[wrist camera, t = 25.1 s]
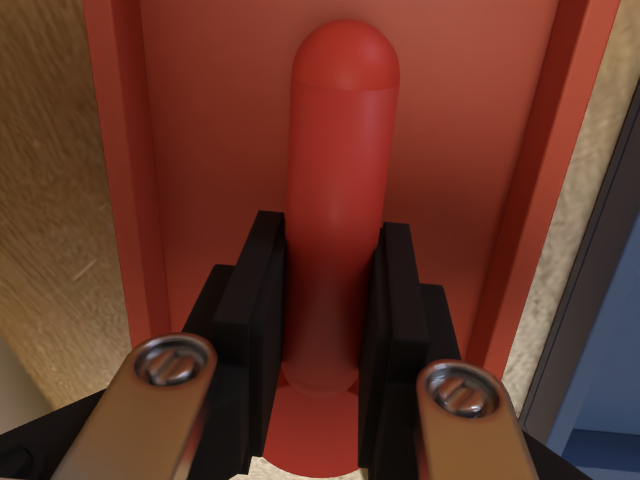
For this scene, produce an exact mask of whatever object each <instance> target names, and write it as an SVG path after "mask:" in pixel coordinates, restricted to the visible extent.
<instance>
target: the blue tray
mask: <svg viewBox="0 0 640 480" xmlns="http://www.w3.org/2000/svg"><path fill="white" fill-rule="evenodd" d="M519 424H520V427H521V429H522V430H523V431H525V432H526V433H528V434H529V435H531V436H532V437H533V438H535V439H536V440H538V441H539V442H540V443H542V444H543V445H545V446H546V447H548V448H549V449H550V450H552V451H553V452H555V453H556V454H558V455H559V456H560V457H562V458H563V459H565V460H566V461H567V462H569V463H570V464H572V465H573V466H575V467H576V468H577V469H579V470H580V471H582V472H583V473H584V474H586V475H587V476H589V477H590V478H592V479H593V480H640V82H639V85H638V88H637V90H636V93H635V96H634V99H633V102H632V104H631V107H630V110H629V113H628V116H627V118H626V121H625V124H624V127H623V130H622V132H621V135H620V138H619V141H618V144H617V147H616V149H615V152H614V155H613V158H612V161H611V163H610V166H609V169H608V172H607V175H606V177H605V180H604V183H603V186H602V189H601V191H600V194H599V197H598V200H597V203H596V206H595V208H594V211H593V214H592V217H591V220H590V222H589V225H588V228H587V231H586V234H585V236H584V239H583V242H582V245H581V248H580V250H579V253H578V256H577V259H576V262H575V265H574V267H573V270H572V273H571V276H570V279H569V281H568V284H567V287H566V290H565V293H564V295H563V298H562V301H561V304H560V307H559V309H558V312H557V315H556V318H555V321H554V324H553V326H552V329H551V332H550V335H549V338H548V340H547V343H546V346H545V349H544V352H543V354H542V357H541V360H540V363H539V366H538V368H537V371H536V374H535V377H534V380H533V383H532V385H531V388H530V391H529V394H528V397H527V399H526V402H525V405H524V408H523V411H522V413H521V416H520V419H519Z"/></svg>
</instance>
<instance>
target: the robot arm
mask: <svg viewBox="0 0 640 480" xmlns="http://www.w3.org/2000/svg"><path fill="white" fill-rule="evenodd" d="M285 221H286V219H285V214H284V212H274V211H263V210H259V211H258V213H257V215H256V218H255V220H254V223H253V225H252V227H251V230H250V232H249V234H248V237H247V239H246V242H245V244H244V246H243V249H242V251H241V253H240V256H239V258H238V261H237V263H236V265H225V264H215V265H214V266H213V268H212V270H211V272H210V274H209V276H208V278H207V280H206V282H205V284H204V286H203V288H202V290H201V292H200V294H199V296H198V298H197V300H196V302H195V304H194V306H193V308H192V311H191V313H190V315H189V317H188V319H187V321H186V323H185V325H184V327H183V329H182V331H181V332H171V333H165V334H160V335H157V336H154V337H151V338H149V339H146V340H145V341H143V342H142V343H140V344H139V345H137V346H136V347H134V349H133V350H132V351H131V352H130V353H129V354H128V355H127V357H126V358H125V360H124V362H123V363H122V365H121V366H120V368H119V370H118V371H117V373H116V374H115V376H114V378H113V379H112V381H111V382H110V384H109V386H108V387H107V388H106V389H104V390H101V391H99V392H97V393H94V394H92V395H90V396H88V397H85V398H83V399H81V400H79V401H76V402H74V403H72V404H69V405H67V406H65V407H63V408H60V409H58V410H56V411H54V412H51V413H49V414H47V415H45V416H42V417H40V418H38V419H35V420H33V421H31V422H29V423H26V424H24V425H22V426H19V427H17V428H15V429H13V430H11V431H8V432H6V433H4V434H1V435H0V480H229V479H230V478H232V477H233V476H235V475H237V474H244V475H248V472H249V468H250V463H251V459H252V456H255V457H262V456H263V452H264V448H265V443H266V438H267V433H268V428H269V423H270V418H271V413H272V408H273V403H274V398H275V393H276V388H277V383H278V378H279V374H280V369H281V364H282V348H283V323H284V297H285V272H286V246H287V240H286V238H285ZM358 468H368V480H593V479H592V478H590V477H589V476H587V475H586V474H584V473H583V472H582V471H580V470H579V469H577V468H576V467H575V466H573V465H572V464H570V463H569V462H567V461H566V460H565V459H563V458H562V457H560V456H559V455H558V454H556V453H555V452H553V451H552V450H550V449H549V448H548V447H546V446H545V445H543V444H542V443H540V442H539V441H538V440H536V439H535V438H533V437H532V436H531V435H529V434H528V433H526V432H525V431H523V430H522V429H521V427H520V424H519V421H518V418H517V416H516V413H515V410H514V407H513V404H512V402H511V399H510V396H509V394H508V392H507V390H506V388H505V387H504V385H503V383H502V382H501V381H500V380H499V379H498V378H497V377H496V376H495V375H494V374H492V373H490V372H489V371H487V370H486V369H484V368H483V367H481V366H478V365H476V364H473V363H471V362H468V361H462V359H461V355H460V351H459V347H458V343H457V339H456V335H455V331H454V327H453V323H452V319H451V315H450V311H449V307H448V302H447V298H446V294H445V290H444V288H443V286H442V285H436V284H426V283H420V282H419V276H418V271H417V265H416V259H415V254H414V248H413V242H412V237H411V231H410V225H409V224H407V223H396V222H385V221H384V222H383V226H382V228H380V233H379V240H378V245H377V247H376V248H375V251H374V258H373V266H372V273H371V281H370V288H369V296H368V303H367V311H366V318H365V326H364V333H363V341H362V348H361V356H360V363H359V386H358Z"/></svg>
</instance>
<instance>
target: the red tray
mask: <svg viewBox="0 0 640 480" xmlns="http://www.w3.org/2000/svg"><path fill="white" fill-rule="evenodd" d="M620 1H621V0H82V4H83V11H84V18H85V25H86V32H87V39H88V46H89V53H90V60H91V67H92V74H93V80H94V87H95V94H96V101H97V108H98V115H99V122H100V129H101V136H102V143H103V150H104V157H105V164H106V171H107V178H108V185H109V192H110V198H111V205H112V212H113V219H114V226H115V233H116V240H117V247H118V254H119V261H120V268H121V275H122V282H123V289H124V296H125V303H126V310H127V316H128V323H129V330H130V337H131V344H132V350H133V349H134V347H136V346H137V345H139V344H140V343H142V342H143V341H145V340H146V339H149V338H151V337H154V336H157V335H160V334H165V333H171V332H181V331H182V329H183V327H184V325H185V323H186V321H187V319H188V317H189V315H190V313H191V311H192V308H193V306H194V304H195V302H196V300H197V298H198V296H199V294H200V292H201V290H202V288H203V286H204V284H205V282H206V280H207V278H208V276H209V274H210V272H211V270H212V268H213V266H214V265H215V264H225V265H236V263H237V261H238V258H239V256H240V253H241V251H242V249H243V246H244V244H245V242H246V239H247V237H248V234H249V232H250V230H251V227H252V225H253V223H254V220H255V218H256V215H257V213H258V211H259V210H263V211H274V212H284V214H285V219H286V194H287V168H288V141H289V114H290V87H291V73H292V65H293V61H294V58H295V55H296V52H297V50H298V48H299V47H300V45H301V43H302V42H303V41H304V39H305V38H306V37H307V36H308V35H309V34H310V33H311V32H313V31H314V30H315V29H316V28H318V27H319V26H321V25H323V24H326V23H328V22H330V21H335V20H339V19H353V20H359V21H362V22H365V23H367V24H370V25H372V26H373V27H375V28H376V29H378V30H379V31H381V32H382V34H383V35H384V36H385V37H386V38H387V39H388V40H389V41H390V43H391V45H392V46H393V48H394V49H395V52H396V55H397V57H398V60H399V66H400V86H399V94H398V101H397V108H396V116H395V123H394V130H393V138H392V145H391V152H390V160H389V167H388V174H387V182H386V189H385V196H384V204H383V211H382V218H381V226H380V228H382V226H383V222H384V221H385V222H396V223H407V224H409V225H410V231H411V237H412V242H413V248H414V254H415V259H416V265H417V271H418V276H419V282H420V283H426V284H436V285H442V286H443V288H444V290H445V294H446V298H447V302H448V307H449V311H450V315H451V319H452V323H453V327H454V331H455V335H456V339H457V343H458V347H459V351H460V355H461V359H462V361H468V362H471V363H473V364H476V365H478V366H481V367H483V368H484V369H486V370H487V371H489V372H490V373H492V374H494V375H495V376H496V377H497V378H498V379H499V380H500V381H501V379H502V375H503V372H504V369H505V366H506V363H507V359H508V356H509V353H510V350H511V347H512V344H513V340H514V337H515V334H516V331H517V328H518V325H519V321H520V318H521V315H522V312H523V309H524V306H525V302H526V299H527V296H528V293H529V290H530V286H531V283H532V280H533V277H534V274H535V271H536V267H537V264H538V261H539V258H540V255H541V252H542V248H543V245H544V242H545V239H546V236H547V233H548V229H549V226H550V223H551V220H552V217H553V213H554V210H555V207H556V204H557V201H558V198H559V194H560V191H561V188H562V185H563V182H564V179H565V175H566V172H567V169H568V166H569V163H570V160H571V156H572V153H573V150H574V147H575V144H576V141H577V137H578V134H579V131H580V128H581V125H582V121H583V118H584V115H585V112H586V109H587V106H588V102H589V99H590V96H591V93H592V90H593V87H594V83H595V80H596V77H597V74H598V71H599V68H600V64H601V61H602V58H603V55H604V52H605V48H606V45H607V42H608V39H609V36H610V33H611V29H612V26H613V23H614V20H615V17H616V14H617V10H618V7H619V4H620Z"/></svg>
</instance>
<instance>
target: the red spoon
mask: <svg viewBox="0 0 640 480" xmlns="http://www.w3.org/2000/svg"><path fill="white" fill-rule="evenodd" d="M399 86H400V66H399V60H398V57H397V55H396V52H395V49H394V48H393V46H392V45H391V43H390V41H389V40H388V39H387V38H386V37H385V36H384V35H383V34H382V32H381V31H379V30H378V29H376V28H375V27H373V26H372V25H370V24H367V23H365V22H362V21H359V20H353V19H339V20H335V21H330V22H328V23H326V24H323V25H321V26H319V27H318V28H316V29H315V30H314V31H313V32H311V33H310V34H309V35H308V36H307V37H306V38H305V39H304V41H303V42H302V43H301V45H300V47H299V48H298V50H297V52H296V55H295V58H294V61H293V65H292V73H291V87H290V114H289V141H288V168H287V194H286V221H285V238H286V240H287V246H286V272H285V297H284V323H283V348H282V364H281V369H280V374H279V378H278V383H277V388H276V393H275V398H274V403H273V408H272V413H271V418H270V423H269V428H268V433H267V438H266V443H265V448H264V452H263V456H262V457H263V458H265V459H266V460H267V461H268V462H270V463H271V464H273V465H274V466H276V467H278V468H280V469H282V470H284V471H286V472H289V473H292V474H295V475H299V476H304V477H311V478H330V477H337V476H342V475H345V474H349V473H351V472H354V471H356V470H358V469H360V468H358V386H359V363H360V356H361V348H362V341H363V333H364V326H365V318H366V311H367V303H368V296H369V288H370V281H371V273H372V266H373V258H374V251H375V248H376V247H377V245H378V240H379V233H380V226H381V218H382V211H383V204H384V196H385V189H386V182H387V174H388V167H389V160H390V152H391V145H392V138H393V130H394V123H395V116H396V108H397V101H398V94H399Z"/></svg>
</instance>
